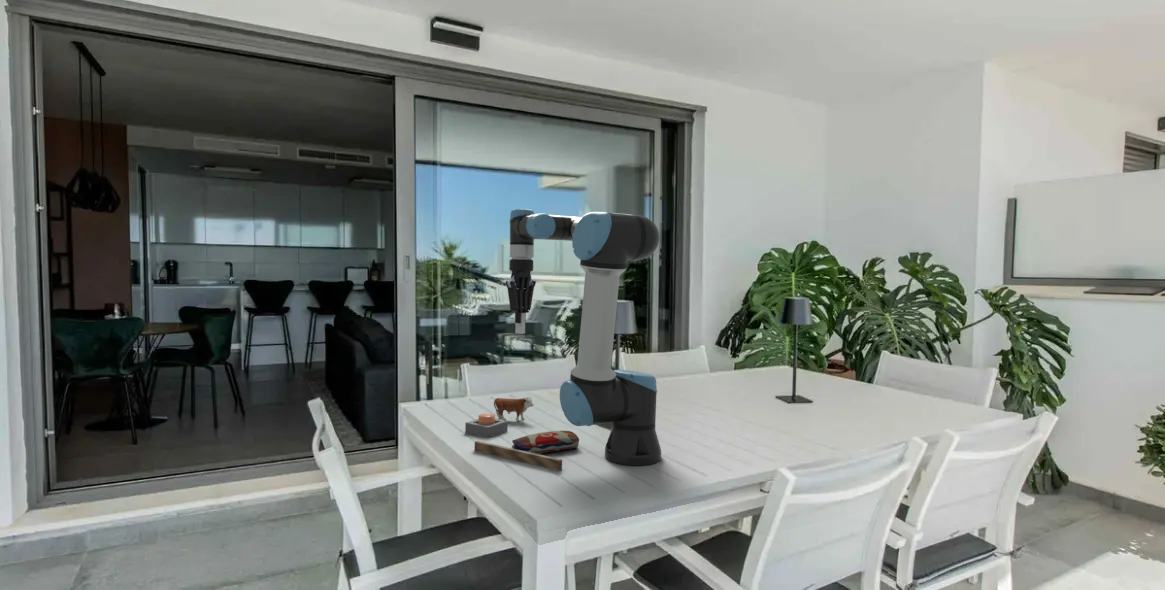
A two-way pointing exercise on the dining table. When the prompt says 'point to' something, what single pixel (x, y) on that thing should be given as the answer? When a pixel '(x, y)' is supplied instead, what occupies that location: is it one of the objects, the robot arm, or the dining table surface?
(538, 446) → the pencil case
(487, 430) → the button housing
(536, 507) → the dining table surface
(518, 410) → the bull figurine
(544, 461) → the rail
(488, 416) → the button
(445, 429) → the dining table surface
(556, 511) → the dining table surface
